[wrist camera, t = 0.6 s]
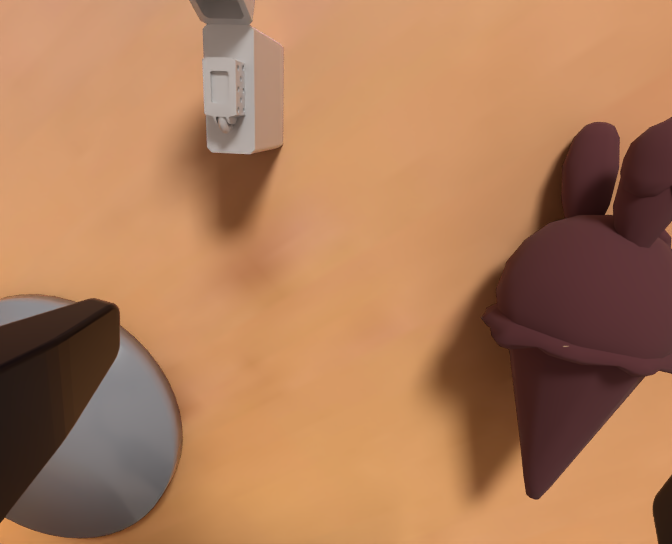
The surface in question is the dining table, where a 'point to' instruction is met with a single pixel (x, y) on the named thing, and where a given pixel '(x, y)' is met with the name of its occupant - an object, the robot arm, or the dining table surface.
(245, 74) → the lighter
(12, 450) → the robot arm
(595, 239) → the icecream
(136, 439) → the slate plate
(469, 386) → the dining table surface
